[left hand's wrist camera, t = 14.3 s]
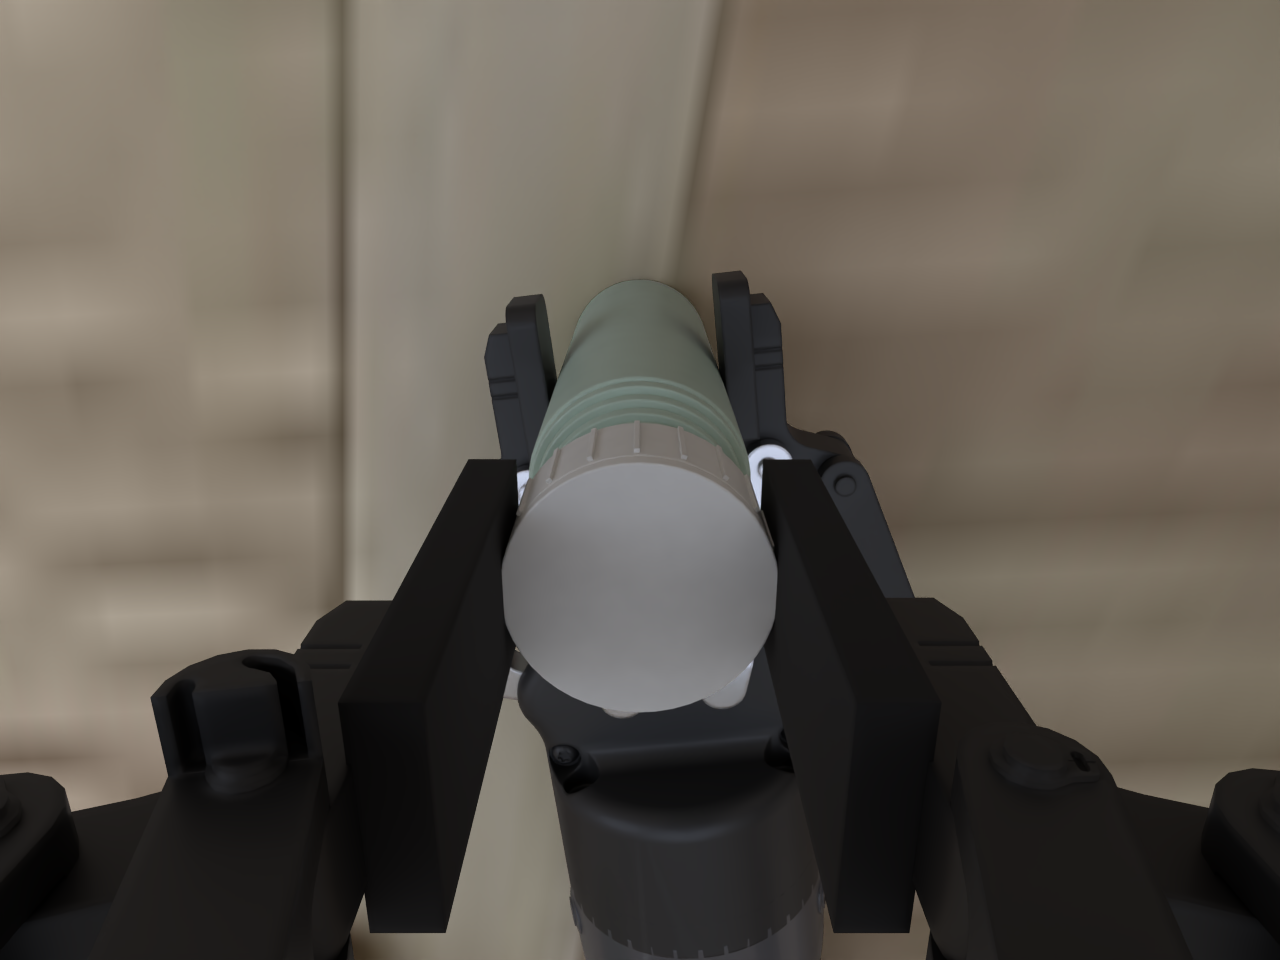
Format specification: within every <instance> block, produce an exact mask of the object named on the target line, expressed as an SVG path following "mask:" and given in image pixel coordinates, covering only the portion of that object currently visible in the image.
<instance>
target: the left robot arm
mask: <svg viewBox="0 0 1280 960" xmlns="http://www.w3.org/2000/svg"><path fill="white" fill-rule="evenodd" d="M518 507H519V500H518V481H517V461H516V459H468V461H467V463H466V465H465V467H464V469H463V470H462V472H461V474H460V476H459V478H458V480H457V482H456V484H455V485H454V487H453V489H452V491H451V493H450V495H449V497H448V498H447V500H446V502H445V504H444V506H443V508H442V510H441V511H440V513H439V515H438V517H437V519H436V521H435V523H434V524H433V526H432V528H431V530H430V532H429V534H428V536H427V537H426V539H425V541H424V543H423V545H422V547H421V549H420V550H419V552H418V554H417V556H416V558H415V560H414V562H413V563H412V565H411V567H410V569H409V571H408V573H407V575H406V576H405V578H404V580H403V582H402V584H401V586H400V588H399V589H398V591H397V593H396V595H395V597H394V599H393V601H345V602H344V603H342V604H341V605H339V606H338V607H336V608H335V609H333V610H332V611H330V612H329V613H327V614H326V615H325V616H323V617H322V618H320V619H319V620H317V621H316V623H315V624H314V626H313V627H312V629H311V630H310V631H309V633H308V634H307V636H306V637H305V639H304V640H303V642H302V643H301V649H297V651H296V652H295V654H291V653H287V652H283V651H279V650H275V649H260V650H243V651H237V652H232V653H227V654H221V655H217V656H214V657H212V658H209V659H206V660H204V661H201V662H198V663H196V664H193V665H190V666H188V667H186V668H185V669H183V670H182V671H180V672H178V673H177V674H175V675H174V676H172V677H170V678H169V679H167V680H165V682H164V683H163V684H162V685H161V686H160V687H159V688H158V689H157V691H156V692H155V693H154V694H153V695H152V696H151V697H150V698H151V702H152V707H153V711H154V715H155V720H156V724H157V729H158V733H159V737H160V742H161V746H162V751H163V755H164V759H165V764H166V768H167V773H168V778H167V780H166V783H165V785H164V787H163V789H162V791H161V792H158V793H154V794H150V795H147V796H143V797H139V798H136V799H131V800H126V801H121V802H117V803H112V804H107V805H102V806H98V807H93V808H88V809H83V810H79V811H74V812H71V809H70V806H69V802H68V798H67V795H66V791H65V788H64V787H63V786H61V785H60V784H59V783H58V782H57V781H56V780H55V779H53V778H52V777H49V776H44V775H39V774H34V773H28V772H27V773H17V774H6V775H0V960H354V956H353V949H352V942H351V935H350V930H351V928H352V925H353V922H354V920H355V917H356V914H357V911H358V909H359V906H360V903H361V900H362V898H363V895H364V893H365V900H366V907H367V915H368V922H369V929H370V933H446V929H447V925H448V921H449V917H450V913H451V909H452V905H453V901H454V897H455V893H456V888H457V884H458V880H459V876H460V872H461V868H462V864H463V860H464V856H465V852H466V848H467V844H468V839H469V835H470V831H471V827H472V823H473V819H474V815H475V811H476V807H477V803H478V799H479V794H480V790H481V786H482V782H483V778H484V774H485V770H486V766H487V762H488V758H489V754H490V750H491V745H492V741H493V737H494V733H495V729H496V725H497V721H498V717H499V713H500V709H501V705H502V701H503V696H504V692H505V688H506V684H507V680H508V676H509V672H510V668H511V664H512V660H513V656H514V652H515V647H516V645H515V643H514V641H513V640H512V637H511V635H510V633H509V631H508V628H507V626H506V623H505V617H504V602H503V585H502V560H503V557H504V554H505V550H506V547H507V544H508V541H509V538H510V535H511V532H512V529H513V526H514V523H515V520H516V517H517V515H516V513H517V510H518ZM761 510H763V513H764V516H765V519H766V522H767V525H768V528H769V531H770V534H771V537H772V540H773V543H774V554H775V557H776V560H777V565H778V574H777V592H776V609H775V620H774V623H773V627H772V629H771V631H770V633H769V635H768V638H767V640H766V642H765V643H764V645H763V646H764V650H765V654H766V658H767V662H768V666H769V670H770V674H771V678H772V682H773V686H774V691H775V695H776V699H777V703H778V707H779V711H780V715H781V719H782V723H783V727H784V731H785V736H786V740H787V744H788V748H789V752H790V756H791V760H792V764H793V768H794V772H795V776H796V780H797V785H798V789H799V793H800V797H801V801H802V805H803V809H804V813H805V817H806V821H807V825H808V830H809V834H810V838H811V842H812V846H813V850H814V854H815V858H816V862H817V866H818V870H819V874H820V879H821V883H822V887H823V891H824V895H825V899H826V903H827V907H828V911H829V915H830V919H831V924H832V928H833V932H834V933H909V932H910V925H911V917H912V910H913V903H914V896H915V889H916V892H917V895H918V898H919V900H920V903H921V906H922V908H923V911H924V914H925V917H926V919H927V922H928V925H929V927H930V935H929V942H928V949H927V955H926V960H1280V771H1276V770H1265V769H1254V768H1252V769H1246V770H1241V771H1236V772H1230V773H1228V774H1227V775H1226V776H1225V777H1223V778H1222V779H1221V780H1220V781H1219V782H1218V783H1217V784H1216V785H1215V789H1214V792H1213V796H1212V799H1211V803H1210V806H1209V808H1206V807H1201V806H1196V805H1191V804H1187V803H1182V802H1177V801H1172V800H1168V799H1163V798H1158V797H1153V796H1148V795H1144V794H1140V793H1136V792H1133V791H1129V790H1125V789H1122V788H1118V787H1117V786H1116V783H1115V781H1114V779H1113V777H1112V775H1111V773H1110V772H1109V771H1108V769H1107V768H1106V767H1105V765H1104V764H1103V763H1102V761H1101V760H1100V759H1099V757H1098V756H1097V755H1095V754H1094V753H1092V752H1091V751H1090V750H1088V749H1087V748H1085V747H1084V746H1083V745H1081V744H1080V743H1079V742H1077V741H1076V740H1074V739H1071V738H1069V737H1067V736H1064V735H1062V734H1060V733H1057V732H1055V731H1053V730H1050V729H1048V728H1043V727H1039V726H1036V725H1035V723H1034V722H1033V720H1032V719H1031V717H1030V716H1029V714H1028V713H1027V711H1026V710H1025V708H1024V707H1023V705H1022V704H1021V702H1020V701H1019V699H1018V698H1017V696H1016V695H1015V694H1014V692H1013V691H1012V689H1011V688H1010V686H1009V685H1008V683H1007V682H1006V680H1005V679H1004V677H1003V676H1002V674H1001V673H1000V671H999V670H998V668H997V667H996V666H993V665H992V660H991V658H990V657H989V655H988V654H987V652H986V651H985V649H984V648H983V646H979V640H978V639H977V638H976V636H975V635H974V633H973V632H972V630H971V629H970V627H969V626H968V624H967V623H966V621H965V620H964V618H963V617H961V616H960V615H958V614H957V613H955V612H954V611H952V610H951V609H949V608H948V607H946V606H945V605H943V604H942V603H940V602H939V601H937V600H936V599H934V598H885V596H884V594H883V592H882V591H881V589H880V587H879V585H878V583H877V581H876V579H875V578H874V576H873V574H872V572H871V570H870V568H869V566H868V565H867V563H866V561H865V559H864V557H863V555H862V553H861V552H860V550H859V548H858V546H857V544H856V542H855V540H854V539H853V537H852V535H851V533H850V531H849V529H848V527H847V526H846V524H845V522H844V520H843V518H842V516H841V514H840V513H839V511H838V509H837V507H836V505H835V503H834V501H833V500H832V498H831V496H830V494H829V492H828V490H827V488H826V486H825V485H824V483H823V481H822V479H821V477H820V475H819V473H818V472H817V470H816V468H815V466H814V464H813V462H812V460H811V459H763V470H762V489H761V508H760V511H761Z"/></svg>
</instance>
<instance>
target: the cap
mask: <svg viewBox="0 0 1280 960" xmlns="http://www.w3.org/2000/svg"><path fill="white" fill-rule="evenodd" d="M516 515H517V517H516V520H515V523H514V526H513V529H512V532H511V535H510V538H509V541H508V544H507V547H506V550H505V554H504V557H503V560H502V585H503V602H504V617H505V623H506V626H507V628H508V631H509V633H510V635H511V637H512V640H513V641H514V643H515V645H516V646H517V648H518V650H519V651H520V653H521V654H522V656H523V657H524V658H525V659H526V661H527V662H528V663H529V664H530V665H531V667H532V668H533V669H534V670H535V671H536V672H538V673H539V674H540V675H541V676H542V677H543V678H544V679H545V680H547V681H548V682H549V683H551V684H552V685H553V686H555V687H556V688H557V689H559V690H561V691H563V692H564V693H566V694H568V695H570V696H571V697H574V698H576V699H578V700H581V701H583V702H585V703H588V704H591V705H595V706H598V707H601V708H605V709H611V710H617V711H625V712H656V711H662V710H668V709H674V708H677V707H681V706H685V705H688V704H691V703H694V702H696V701H698V700H701V699H703V698H706V697H708V696H709V695H711V694H713V693H715V692H717V691H718V690H720V689H722V688H723V687H724V686H726V685H727V684H729V683H730V682H731V681H733V680H734V679H735V678H736V677H737V676H738V675H739V674H741V673H742V672H743V671H744V670H745V669H746V668H747V667H748V665H749V664H750V663H751V662H752V661H753V660H754V658H755V657H756V656H757V654H758V653H759V651H760V650H761V648H762V647H763V645H764V643H765V642H766V640H767V638H768V635H769V633H770V631H771V629H772V627H773V623H774V620H775V609H776V592H777V574H778V565H777V560H776V557H775V554H774V543H773V540H772V537H771V534H770V531H769V528H768V525H767V522H766V519H765V516H764V513H763V510H761V511H760V507H759V504H758V501H757V498H756V495H755V492H754V489H753V486H752V483H751V480H750V477H749V476H748V474H746V475H743V473H742V472H741V470H740V469H739V468H738V467H737V466H736V465H735V464H734V462H733V461H732V460H731V459H730V458H729V457H727V456H726V455H725V454H724V453H723V451H722V448H721V447H720V446H719V445H717V446H716V447H715V446H714V445H712V444H711V443H709V442H708V441H706V440H704V439H702V438H700V437H698V436H696V435H694V434H692V433H690V432H687V431H684V429H683V427H680V426H678V428H675V427H670V426H665V425H660V424H650V423H640V420H635V421H634V423H629V424H620V425H614V426H609V427H605V428H602V429H599V430H597V428H593V429H591V432H590V433H588V434H585V435H583V436H581V437H579V438H577V439H575V440H573V441H572V442H570V443H569V444H567V445H566V446H564V447H562V448H561V449H559V448H556V449H555V450H554V452H553V456H552V457H550V458H549V459H548V461H547V462H546V463H545V464H544V465H543V466H542V467H541V468H540V469H539V471H538V472H537V474H536V475H535V476H534V478H533V479H531V478H529V479H528V480H527V483H526V486H525V489H524V492H523V495H522V498H521V501H520V504H519V507H518V510H517V513H516Z"/></svg>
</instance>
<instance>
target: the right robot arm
mask: <svg viewBox="0 0 1280 960" xmlns="http://www.w3.org/2000/svg"><path fill="white" fill-rule="evenodd" d="M712 289H713V301H714V313H715V326H716V338H717V350H718V362H719V372H720V375H721V378H722V381H723V384H724V387H725V390H726V392H727V395H728V398H729V401H730V404H731V407H732V410H733V413H734V416H735V418H736V421H737V424H738V427H739V430H740V433H741V436H742V439H743V442H744V445H745V448H746V451H747V454H748V458H749V464H750V471H751V483H752V486H753V489H754V492H755V495H756V498H757V501H758V504H759V507H760V508H761V489H762V470H763V459H811V460H812V462H813V464H814V466H815V468H816V470H817V472H818V473H819V475H820V477H821V479H822V481H823V483H824V485H825V486H826V488H827V490H828V492H829V494H830V496H831V498H832V500H833V501H834V503H835V505H836V507H837V509H838V511H839V513H840V514H841V516H842V518H843V520H844V522H845V524H846V526H847V527H848V529H849V531H850V533H851V535H852V537H853V539H854V540H855V542H856V544H857V546H858V548H859V550H860V552H861V553H862V555H863V557H864V559H865V561H866V563H867V565H868V566H869V568H870V570H871V572H872V574H873V576H874V578H875V579H876V581H877V583H878V585H879V587H880V589H881V591H882V592H883V594H884V596H885V598H915V597H914V594H913V592H912V589H911V586H910V584H909V581H908V578H907V576H906V573H905V570H904V568H903V565H902V562H901V560H900V557H899V554H898V552H897V549H896V547H895V544H894V541H893V539H892V536H891V533H890V531H889V528H888V525H887V523H886V520H885V517H884V515H883V512H882V509H881V507H880V504H879V502H878V499H877V496H876V494H875V491H874V488H873V486H872V483H871V480H870V478H869V475H868V473H867V471H866V470H865V468H864V467H863V465H862V464H861V463H860V462H859V461H858V460H857V459H855V457H854V456H853V454H852V451H851V449H850V447H849V445H848V444H847V442H846V441H845V439H844V438H843V437H842V436H841V435H840V434H838V433H836V432H833V431H821V432H818V433H816V434H815V433H811V432H807V431H803V430H799V429H796V428H794V427H792V426H790V425H789V424H787V422H786V406H785V388H784V371H783V353H782V335H781V323H780V321H779V319H778V317H777V315H776V312H775V310H774V308H773V306H772V304H771V302H770V301H769V300H768V299H767V297H766V296H765V295H764V294H763V293H758V294H750V292H749V285H748V280H747V278H746V277H745V275H744V274H743V273H742V271H733V272H724V273H715V274H712ZM484 359H485V365H486V370H487V376H488V380H489V387H490V393H491V397H492V404H493V409H494V415H495V421H496V426H497V432H498V437H499V443H500V449H501V459H516V461H517V481H518V500H519V504H520V501H521V498H522V495H523V492H524V489H525V486H526V483H527V480H528V479H529V467H530V461H531V456H532V453H533V450H534V447H535V443H536V441H537V438H538V435H539V432H540V429H541V426H542V423H543V420H544V418H545V415H546V412H547V409H548V406H549V403H550V400H551V398H552V395H553V392H554V389H555V386H556V383H557V376H556V370H555V363H554V356H553V350H552V343H551V337H550V330H549V323H548V317H547V310H546V304H545V300H544V297H543V294H538V295H529V296H521V297H514V298H513V299H512V300H511V301H510V303H509V304H508V305H507V307H506V323H500V324H497V326H496V327H495V328H494V330H493V331H492V332H491V333H490V335H489V338H488V342H487V347H486V352H485V356H484ZM503 698H508V699H515V700H518V703H519V706H520V709H521V711H522V712H523V714H524V716H525V717H526V718H527V719H528V720H529V721H530V722H531V724H532V725H533V726H534V727H535V728H536V729H537V731H538V732H539V734H540V735H541V737H542V739H543V741H544V743H545V747H546V751H547V757H548V762H549V768H550V773H551V778H552V784H553V790H554V795H555V801H556V806H557V812H558V817H559V823H560V828H561V834H562V839H563V845H564V850H565V856H566V862H567V867H568V873H569V878H570V884H571V889H570V895H571V897H569V898H570V905H571V910H572V915H573V920H574V923H575V926H577V928H578V931H579V933H580V938H581V943H582V947H583V951H584V956H585V959H586V960H820V958H821V952H822V943H823V926H824V909H823V908H825V901H826V899H825V895H824V891H823V887H822V883H821V879H820V874H819V870H818V866H817V862H816V858H815V854H814V850H813V846H812V842H811V838H810V834H809V830H808V825H807V821H806V817H805V813H804V809H803V805H802V801H801V797H800V793H799V789H798V785H797V780H796V776H795V772H794V768H793V764H792V760H791V756H790V752H789V748H788V744H787V740H786V736H785V731H784V727H783V723H782V719H781V715H780V711H779V707H778V703H777V699H776V695H775V691H774V686H773V682H772V678H771V674H770V670H769V666H768V662H767V658H766V654H765V650H764V646H763V647H762V648H761V650H760V651H759V653H758V654H757V656H756V657H755V658H754V660H753V661H752V662H751V663H750V664H749V665H748V667H747V668H746V669H745V670H744V671H743V672H742V673H741V674H739V675H738V676H737V677H736V678H735V679H734V680H733V681H731V682H730V683H729V684H727V685H726V686H724V687H723V688H722V689H720V690H718V691H717V692H715V693H713V694H711V695H709V696H708V697H706V698H703V699H701V700H698V701H696V702H694V703H691V704H688V705H685V706H681V707H677V708H674V709H668V710H662V711H656V712H625V711H617V710H611V709H605V708H601V707H598V706H595V705H591V704H588V703H585V702H583V701H581V700H578V699H576V698H574V697H571V696H570V695H568V694H566V693H564V692H563V691H561V690H559V689H557V688H556V687H555V686H553V685H552V684H551V683H549V682H548V681H547V680H545V679H544V678H543V677H542V676H541V675H540V674H539V673H538V672H536V671H535V670H534V669H533V668H532V667H531V665H530V664H529V663H528V662H527V661H526V659H525V658H524V657H523V656H522V654H521V653H520V652H518V651H516V650H515V652H514V656H513V660H512V664H511V668H510V672H509V676H508V680H507V684H506V688H505V692H504V696H503Z"/></svg>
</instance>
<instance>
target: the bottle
mask: <svg viewBox="0 0 1280 960" xmlns="http://www.w3.org/2000/svg"><path fill="white" fill-rule="evenodd" d="M635 420H640V423H650V424H660V425H665V426H670V427H675V428H678V426H680V427H683V429H684V431H687V432H690V433H692V434H694V435H696V436H698V437H700V438H702V439H704V440H706V441H708V442H709V443H711V444H712V445H714V446H715V447H716V446H717V445H719V446H720V447H721V448H722V451H723V453H724V454H725V455H726V456H727V457H729V458H730V459H731V460H732V461H733V462H734V464H735V465H736V466H737V467H738V468H739V469H740V470H741V472H742V473H743V475H746V474H748V476H749V477H750V480H751V471H750V464H749V458H748V454H747V451H746V448H745V445H744V442H743V439H742V436H741V433H740V430H739V427H738V424H737V421H736V418H735V416H734V413H733V410H732V407H731V404H730V401H729V398H728V395H727V392H726V390H725V387H724V384H723V381H722V378H721V375H720V372H719V369H718V366H717V363H716V361H715V358H714V355H713V352H712V349H711V346H710V343H709V340H708V337H707V334H706V332H705V329H704V326H703V323H702V320H701V318H700V316H699V314H698V312H697V311H696V309H695V308H694V306H693V305H692V304H691V303H690V301H689V300H688V299H687V298H686V297H684V296H683V295H682V294H681V293H680V292H678V291H677V290H675V289H673V288H672V287H670V286H668V285H665V284H662V283H660V282H656V281H651V280H641V279H640V280H629V281H624V282H620V283H617V284H615V285H612V286H610V287H608V288H606V289H605V290H603V291H602V292H600V293H599V294H598V295H597V296H596V297H594V298H593V299H592V300H591V302H590V303H589V304H588V305H587V306H586V308H585V309H584V311H583V312H582V314H581V316H580V318H579V320H578V323H577V326H576V329H575V332H574V334H573V337H572V340H571V343H570V346H569V349H568V352H567V355H566V357H565V360H564V363H563V366H562V369H561V372H560V375H559V377H558V380H557V383H556V386H555V389H554V392H553V395H552V398H551V400H550V403H549V406H548V409H547V412H546V415H545V418H544V420H543V423H542V426H541V429H540V432H539V435H538V438H537V441H536V443H535V447H534V450H533V453H532V456H531V461H530V467H529V478H531V479H533V478H534V476H535V475H536V474H537V472H538V471H539V469H540V468H541V467H542V466H543V465H544V464H545V463H546V462H547V461H548V459H549V458H550V457H552V456H553V452H554V450H555V449H556V448H559V449H561V448H562V447H564V446H566V445H567V444H569V443H570V442H572V441H573V440H575V439H577V438H579V437H581V436H583V435H585V434H588V433H590V432H591V429H593V428H597V430H599V429H602V428H605V427H609V426H614V425H620V424H629V423H634V421H635Z"/></svg>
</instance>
